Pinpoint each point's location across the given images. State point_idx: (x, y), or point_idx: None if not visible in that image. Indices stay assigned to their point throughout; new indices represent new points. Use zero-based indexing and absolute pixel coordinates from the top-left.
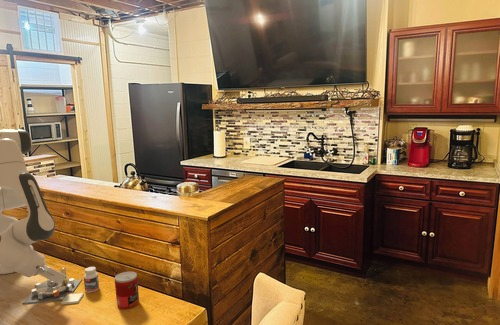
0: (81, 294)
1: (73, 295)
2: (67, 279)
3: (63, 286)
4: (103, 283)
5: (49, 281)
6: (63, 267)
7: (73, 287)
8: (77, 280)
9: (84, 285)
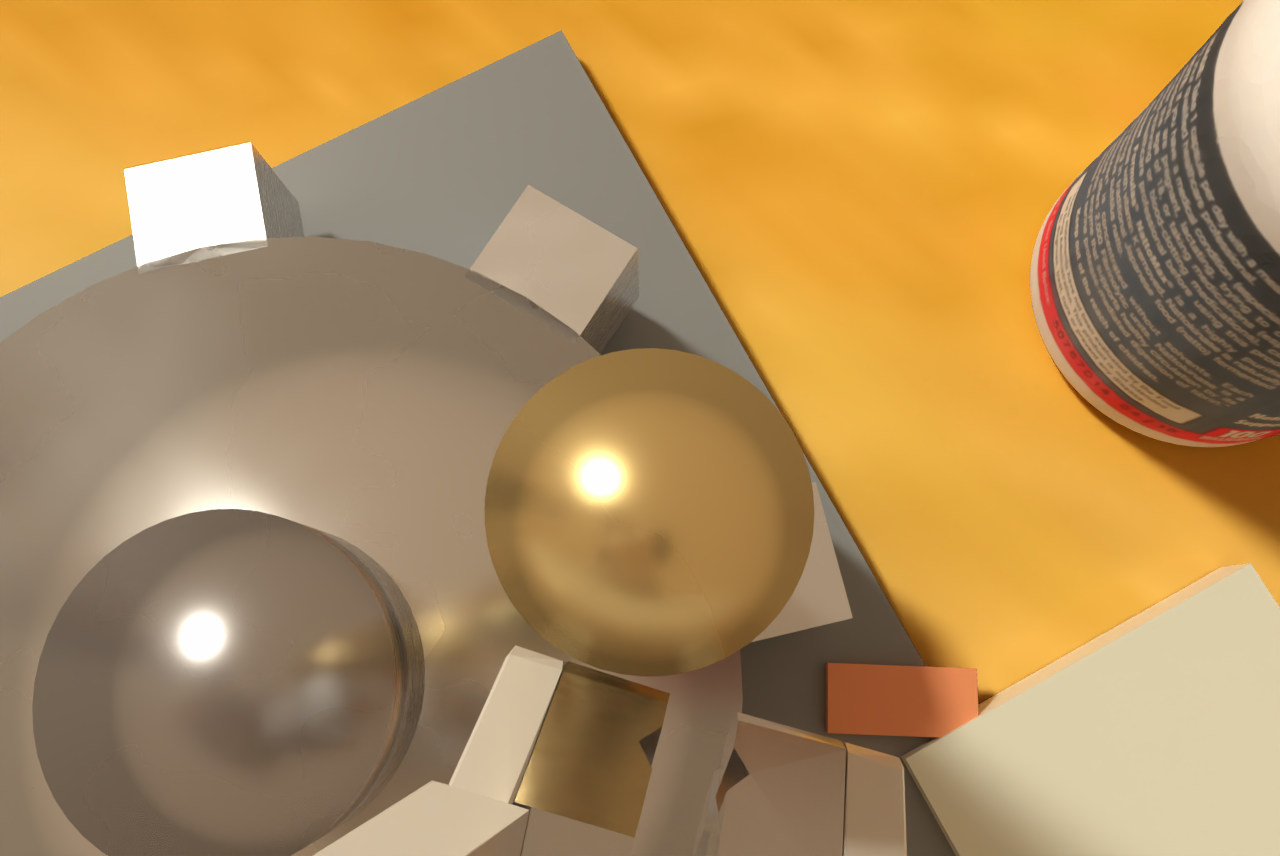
0: (1269, 639)
1: (1115, 749)
2: (436, 292)
3: (695, 672)
4: (1186, 6)
5: (133, 762)
6: (579, 408)
7: None
8: (506, 98)
9: (1172, 378)
